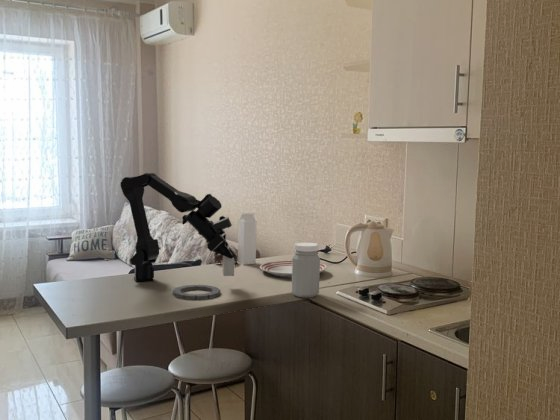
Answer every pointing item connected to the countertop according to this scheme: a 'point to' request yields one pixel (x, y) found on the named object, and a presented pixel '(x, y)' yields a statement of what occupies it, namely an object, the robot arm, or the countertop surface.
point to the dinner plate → (283, 268)
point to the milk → (247, 239)
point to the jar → (305, 270)
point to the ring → (178, 293)
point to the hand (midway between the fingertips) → (232, 255)
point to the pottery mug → (220, 257)
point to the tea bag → (228, 265)
